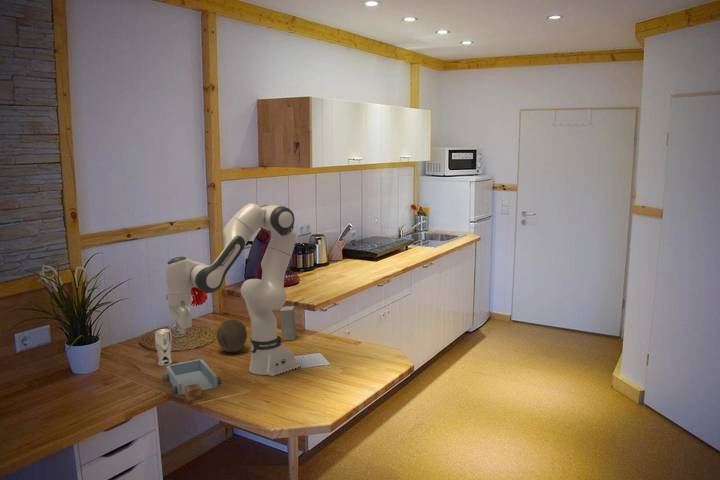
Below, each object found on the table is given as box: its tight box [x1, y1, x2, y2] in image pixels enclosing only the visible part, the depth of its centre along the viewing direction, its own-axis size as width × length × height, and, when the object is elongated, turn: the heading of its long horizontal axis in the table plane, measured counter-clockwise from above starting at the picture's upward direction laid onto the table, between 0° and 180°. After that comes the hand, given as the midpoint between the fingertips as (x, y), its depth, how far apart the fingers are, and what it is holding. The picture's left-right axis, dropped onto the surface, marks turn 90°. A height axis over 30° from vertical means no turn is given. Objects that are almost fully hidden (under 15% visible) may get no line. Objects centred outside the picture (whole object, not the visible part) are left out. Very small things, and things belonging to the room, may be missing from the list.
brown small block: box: [184, 383, 203, 402], centre depth 218 cm, size 5×5×4 cm
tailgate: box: [188, 396, 221, 406], centre depth 220 cm, size 12×1×8 cm
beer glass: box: [154, 328, 173, 367], centre depth 256 cm, size 7×7×15 cm
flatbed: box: [161, 358, 222, 396], centre depth 233 cm, size 19×22×6 cm
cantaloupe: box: [216, 319, 248, 353], centre depth 270 cm, size 14×14×15 cm
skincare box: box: [279, 305, 297, 341], centre depth 288 cm, size 8×7×16 cm
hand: (181, 333), depth 225 cm, fingers closed
